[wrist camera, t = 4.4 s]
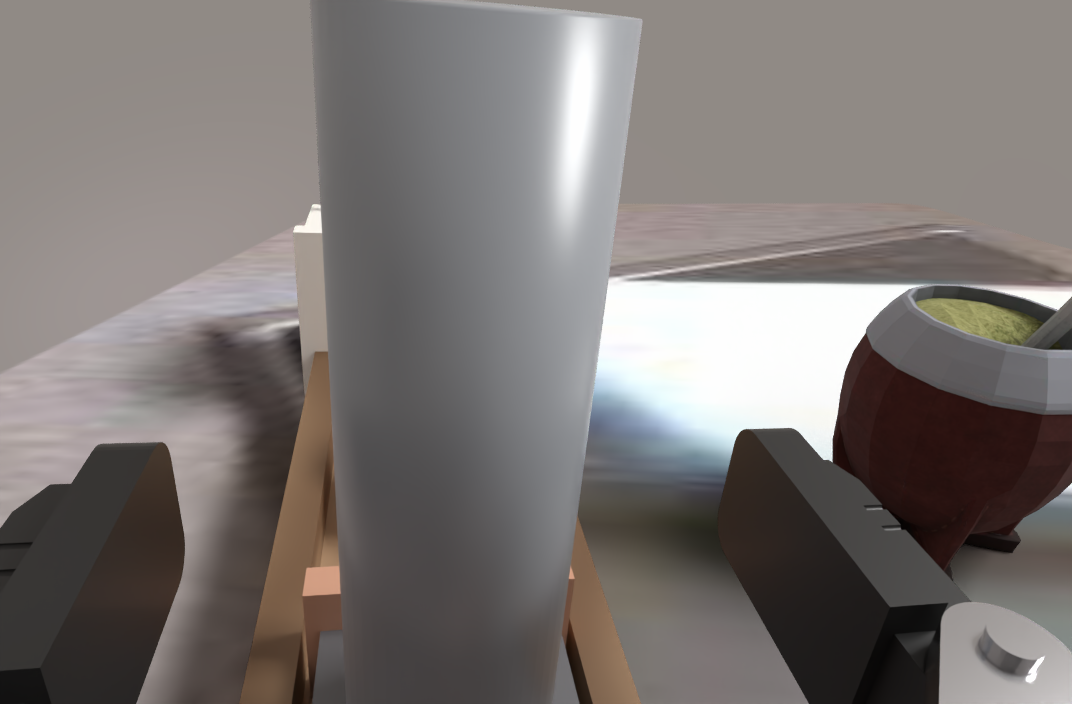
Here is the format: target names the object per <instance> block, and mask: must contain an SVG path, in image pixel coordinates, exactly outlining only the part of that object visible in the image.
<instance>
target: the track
mask: <svg viewBox="0 0 1072 704" xmlns="http://www.w3.org/2000/svg"><path fill="white" fill-rule="evenodd" d="M330 566H339V553H338V534H337V515H336V495H335V476H334V456H333V437H332V418H331V398H330V379H329V359H328V351H324V352H315V354H314V358H313V363H312V368H311V372H310V377H309V382H308V386H307V391H306V396H305V400H304V405H303V409H302V414H301V419H300V423H299V428H298V433H297V437H296V442H295V447H294V451H293V456H292V461H291V465H290V470H289V474H288V479H287V484H286V488H285V493H284V498H283V502H282V507H281V512H280V516H279V521H278V525H277V530H276V535H275V539H274V544H273V549H272V553H271V558H270V563H269V567H268V572H267V577H266V581H265V586H264V590H263V595H262V600H261V604H260V609H259V614H258V618H257V623H256V628H255V632H254V637H253V641H252V646H251V651H250V655H249V660H248V665H247V669H246V674H245V679H244V683H243V688H242V692H241V697H240V702H239V704H312V700H313V699H311V695H310V683H309V671H308V659H307V646H306V634H305V622H304V610H303V598H302V595H303V589H304V582H305V575H306V569H307V568H313V567H330ZM571 568H572V571H573V575H574V578H575V580H574V588H573V595H572V602H571V610H570V617H569V624H568V632H567V639H566V646H565V649H566V653H567V656H568V660H569V664H570V668H571V672H572V676H573V680H574V684H575V688H576V692H577V696H578V700H579V704H641V702H640V699H639V696H638V694H637V691H636V688H635V685H634V682H633V679H632V676H631V673H630V670H629V667H628V664H627V661H626V658H625V655H624V652H623V649H622V646H621V643H620V640H619V637H618V634H617V631H616V628H615V626H614V623H613V620H612V617H611V614H610V611H609V608H608V605H607V602H606V599H605V596H604V593H603V590H602V587H601V584H600V581H599V578H598V575H597V572H596V569H595V566H594V563H593V560H592V558H591V555H590V552H589V549H588V546H587V543H586V540H585V537H584V534H583V531H582V528H581V525H580V522H579V519H578V516H577V521H576V529H575V536H574V544H573V551H572V559H571Z"/></svg>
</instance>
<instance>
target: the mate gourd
mask: <svg viewBox="0 0 1072 704" xmlns="http://www.w3.org/2000/svg"><path fill="white" fill-rule="evenodd" d="M833 463H834V464H835V465H837V466H839V467H840V468H842V469H843V470H845V471H846V472H848V473H849V474H851V475H853V476H854V477H856V478H857V479H859V480H860V481H861V482H862V483H863V484H864V485H865V486H866V487H867V488H868V490H869V491H870V492H871V493H872V494H873V495H874V496H875V497H876V498H877V499H878V500H879V502H880V503H881V504H882V508H883V510H884V509H887V510H888V511H889V512H890V513H891V515H892V516H893V517H894V518H895V519H896V520H897V521H898V522H899V523H900V524H901V530H906V531H907V532H908V533H909V534H910V535H911V536H912V537H913V539H914V540H915V541H916V542H917V543H918V544H919V545H920V546H921V547H922V548H923V549H924V551H925V552H926V553H927V554H928V555H929V556H930V557H931V558H932V559H933V560H934V561H935V563H936V564H937V565H938V566H939V567H940V568H941V569H942V570H943V571H944V572H945V573H946V574H947V576H948V577H949V578H950V579H951V580H952V581H953V576H952V571H951V568H950V565H949V563H950V561H951V560H952V558H953V557H954V555H955V554H956V552H957V551H958V550H959V548H960V547H961V546H962V544H963V543H967V544H971V545H976V546H981V547H986V548H991V549H996V550H1001V551H1007V552H1013V551H1014V549H1015V548H1016V547H1017V545H1018V544H1019V543H1020V541H1021V539H1020V537H1019V536H1018V534H1017V532H1016V531H1014V528H1015V527H1016V526H1017V525H1018V524H1019V522H1020V521H1021V520H1022V519H1023V518H1024V517H1026V516H1028V515H1030V514H1032V513H1034V512H1035V511H1037V510H1039V509H1040V508H1042V507H1043V506H1045V505H1046V504H1047V503H1049V502H1050V501H1051V500H1053V499H1054V498H1056V497H1057V496H1058V495H1060V494H1061V493H1062V492H1063V491H1064V490H1065V489H1066V488H1067V487H1068V486H1069V485H1070V484H1071V483H1072V297H1071V298H1070V299H1069V300H1068V301H1067V302H1066V303H1065V304H1064V305H1063V306H1062V307H1061V308H1060V309H1059V310H1057V309H1054V308H1051V307H1048V306H1045V305H1043V304H1040V303H1037V302H1034V301H1031V300H1029V299H1026V298H1022V297H1018V296H1014V295H1010V294H1006V293H1002V292H998V291H994V290H990V289H984V288H977V287H970V286H963V285H948V284H930V285H925V286H920V287H916V288H912V289H909V290H908V291H906V292H905V293H903V294H902V295H900V296H899V297H897V298H896V299H895V300H893V301H892V302H891V303H890V304H889V305H888V306H887V307H885V308H884V309H883V310H882V311H881V312H880V313H879V314H878V315H877V316H876V318H875V319H874V320H873V321H872V322H871V323H870V324H869V326H868V327H867V329H866V334H865V335H864V337H863V338H862V340H861V341H860V343H859V344H858V346H857V347H856V349H855V350H854V352H853V354H852V357H851V359H850V361H849V364H848V366H847V368H846V371H845V375H844V380H843V385H842V389H841V394H840V402H839V409H838V416H837V421H836V426H835V431H834V436H833Z"/></svg>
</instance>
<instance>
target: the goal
mask: <svg viewBox="0 0 1072 704" xmlns="http://www.w3.org/2000/svg"><path fill="white" fill-rule="evenodd" d="M293 239H294V253H295V268H296V282H297V296H298V311H299V325H300V339H301V354H302V368H303V383H304V397H305V396H306V391H307V386H308V382H309V377H310V372H311V368H312V363H313V358H314V354H315V352H324V351H328V340H327V321H326V301H325V282H324V262H323V243H322V224H321V205H312V208H311V211H310V213H309V216H308V219H307V221H306V224H305V226H295V229H294V231H293Z"/></svg>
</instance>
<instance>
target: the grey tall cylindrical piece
mask: <svg viewBox="0 0 1072 704" xmlns="http://www.w3.org/2000/svg"><path fill="white" fill-rule="evenodd" d="M310 9H311V29H312V48H313V68H314V87H315V107H316V127H317V146H318V165H319V185H320V203H321V224H322V243H323V262H324V282H325V301H326V321H327V340H328V359H329V379H330V398H331V418H332V437H333V456H334V476H335V495H336V515H337V534H338V553H339V566H330V567H313V568H307V569H306V575H305V582H304V589H303V595H302V598H303V610H304V622H305V634H306V646H307V659H308V671H309V683H310V695H311V699H313V700H312V704H579V700H578V696H577V692H576V688H575V684H574V680H573V676H572V672H571V668H570V664H569V660H568V656H567V653H566V649H565V646H566V639H567V632H568V624H569V617H570V610H571V602H572V595H573V588H574V580H575V578H574V575H573V571H572V568H571V559H572V551H573V544H574V536H575V529H576V521H577V513H578V506H579V498H580V491H581V483H582V475H583V468H584V460H585V453H586V445H587V437H588V430H589V422H590V415H591V407H592V400H593V392H594V384H595V377H596V369H597V362H598V354H599V346H600V339H601V331H602V324H603V316H604V309H605V301H606V293H607V286H608V278H609V271H610V263H611V255H612V248H613V240H614V233H615V225H616V218H617V210H618V202H619V195H620V186H621V179H622V172H623V164H624V156H625V149H626V141H627V134H628V127H629V119H630V111H631V104H632V96H633V89H634V81H635V73H636V66H637V58H638V50H639V43H640V35H641V27H642V19H638V18H632V17H624V16H617V15H608V14H599V13H591V12H582V11H573V10H563V9H553V8H542V7H532V6H522V5H511V4H500V3H487V2H477V1H466V0H310Z"/></svg>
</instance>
